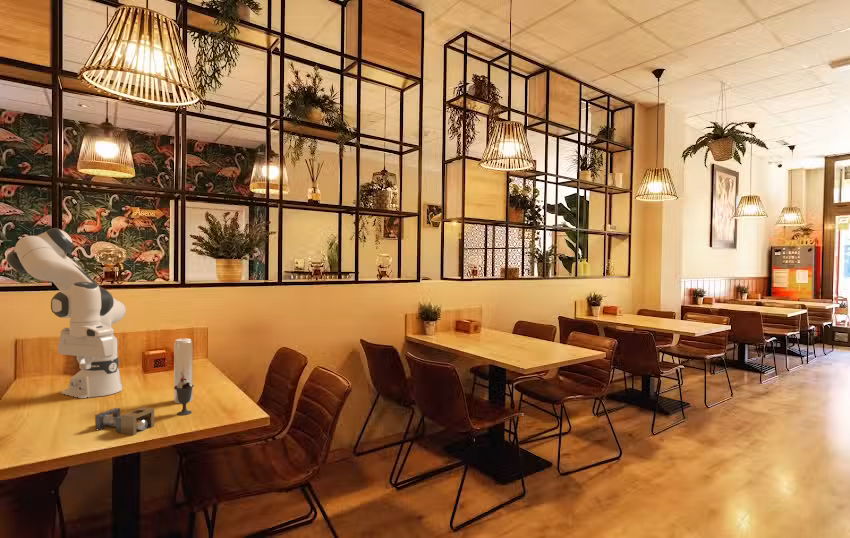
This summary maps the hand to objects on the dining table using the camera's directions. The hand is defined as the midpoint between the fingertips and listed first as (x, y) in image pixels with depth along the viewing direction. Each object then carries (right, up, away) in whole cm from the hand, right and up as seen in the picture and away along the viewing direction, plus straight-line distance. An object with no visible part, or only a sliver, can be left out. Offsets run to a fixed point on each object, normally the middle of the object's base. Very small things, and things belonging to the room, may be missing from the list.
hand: (85, 368), depth 161 cm
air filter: (+21, -19, +26) cm, 38 cm away
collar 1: (+10, -19, -3) cm, 22 cm away
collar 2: (+18, -19, -5) cm, 27 cm away
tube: (+15, -19, -4) cm, 25 cm away
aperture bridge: (+22, -19, -6) cm, 30 cm away
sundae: (+29, -19, +11) cm, 36 cm away
